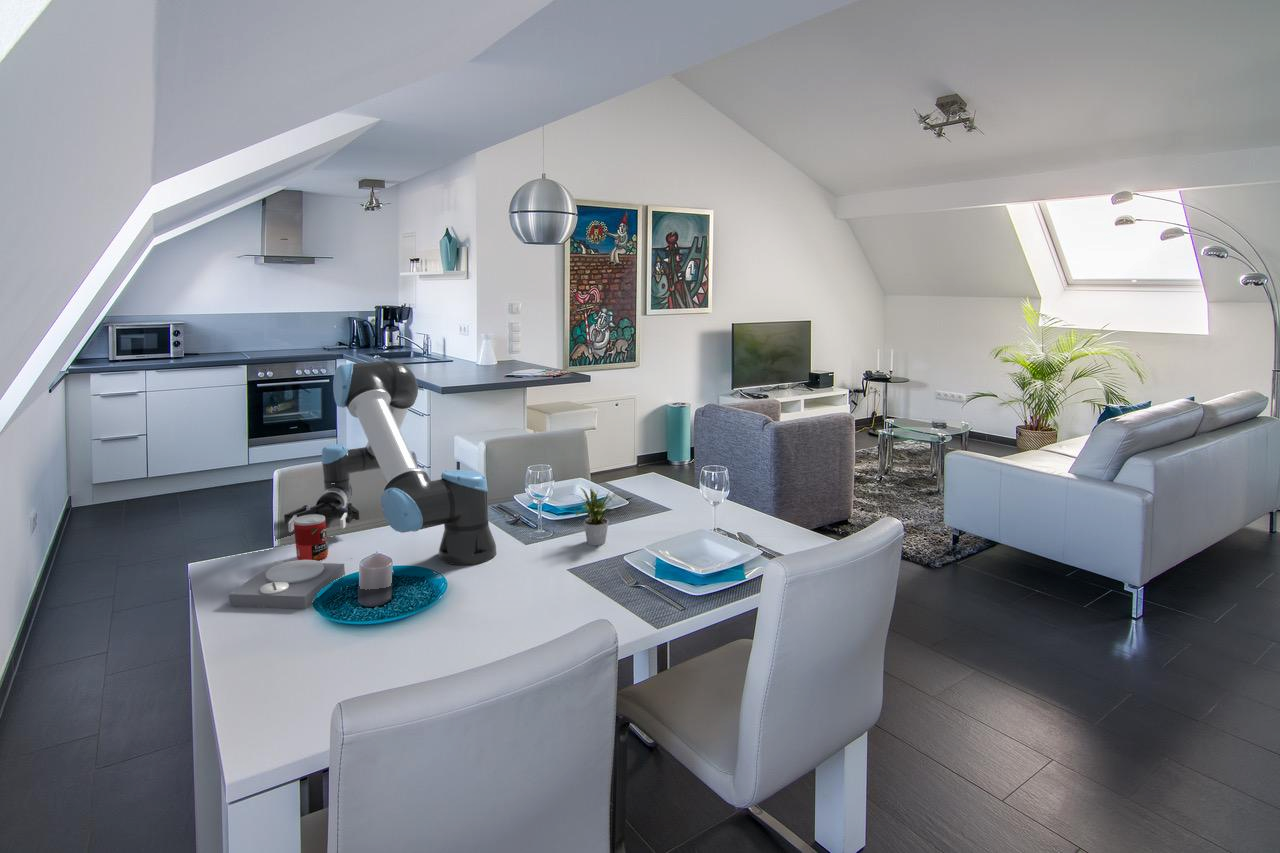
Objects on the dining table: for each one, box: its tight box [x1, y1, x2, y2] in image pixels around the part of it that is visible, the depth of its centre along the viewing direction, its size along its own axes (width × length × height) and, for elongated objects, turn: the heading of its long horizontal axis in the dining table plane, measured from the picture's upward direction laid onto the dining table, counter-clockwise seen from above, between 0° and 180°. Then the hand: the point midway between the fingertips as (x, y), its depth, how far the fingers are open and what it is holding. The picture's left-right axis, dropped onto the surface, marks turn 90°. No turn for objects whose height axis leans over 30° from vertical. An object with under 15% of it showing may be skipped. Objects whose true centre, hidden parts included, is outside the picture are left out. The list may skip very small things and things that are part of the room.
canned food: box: [293, 514, 329, 562], centre depth 206 cm, size 8×8×11 cm
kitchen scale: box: [228, 559, 346, 610], centre depth 186 cm, size 18×20×4 cm
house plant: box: [570, 486, 620, 546], centre depth 218 cm, size 14×14×16 cm
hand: (316, 525), depth 214 cm, fingers open, 13 cm apart
